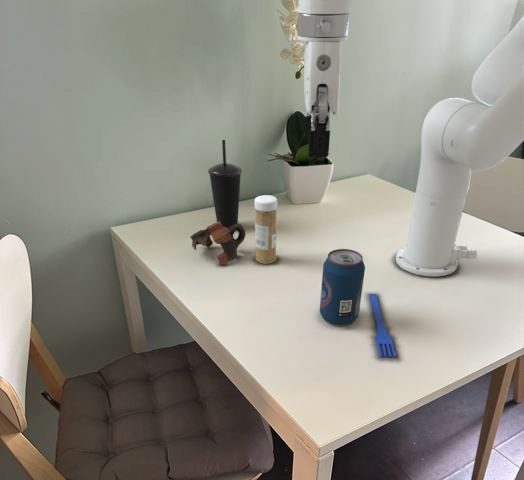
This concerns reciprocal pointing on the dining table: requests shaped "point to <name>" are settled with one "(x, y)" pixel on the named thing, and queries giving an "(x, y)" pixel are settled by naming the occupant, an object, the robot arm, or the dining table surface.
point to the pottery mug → (220, 239)
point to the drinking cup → (225, 190)
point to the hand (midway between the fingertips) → (316, 148)
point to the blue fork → (381, 330)
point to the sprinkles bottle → (265, 228)
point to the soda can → (342, 287)
